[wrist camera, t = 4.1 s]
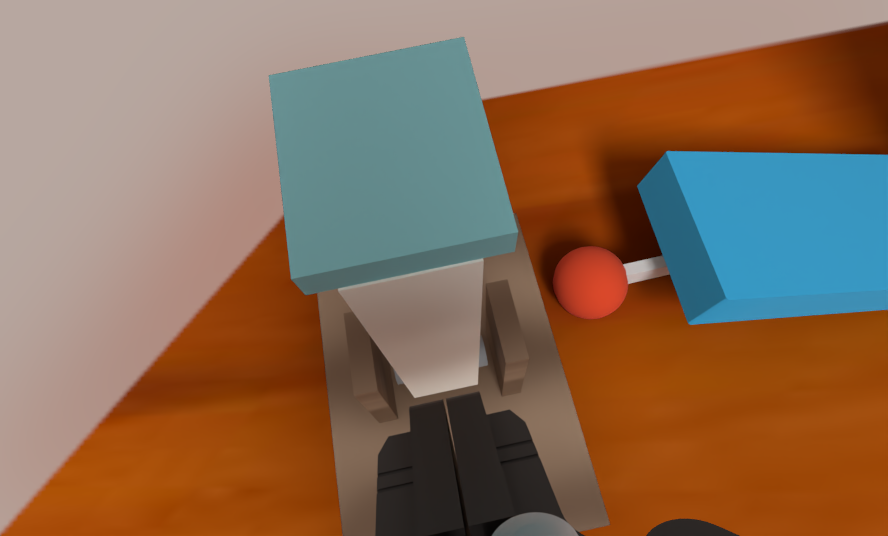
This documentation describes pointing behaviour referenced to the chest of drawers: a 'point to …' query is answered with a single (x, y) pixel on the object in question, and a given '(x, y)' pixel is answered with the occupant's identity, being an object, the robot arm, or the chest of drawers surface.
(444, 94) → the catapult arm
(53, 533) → the chest of drawers surface
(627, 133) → the chest of drawers surface
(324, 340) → the catapult stand
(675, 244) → the lever
